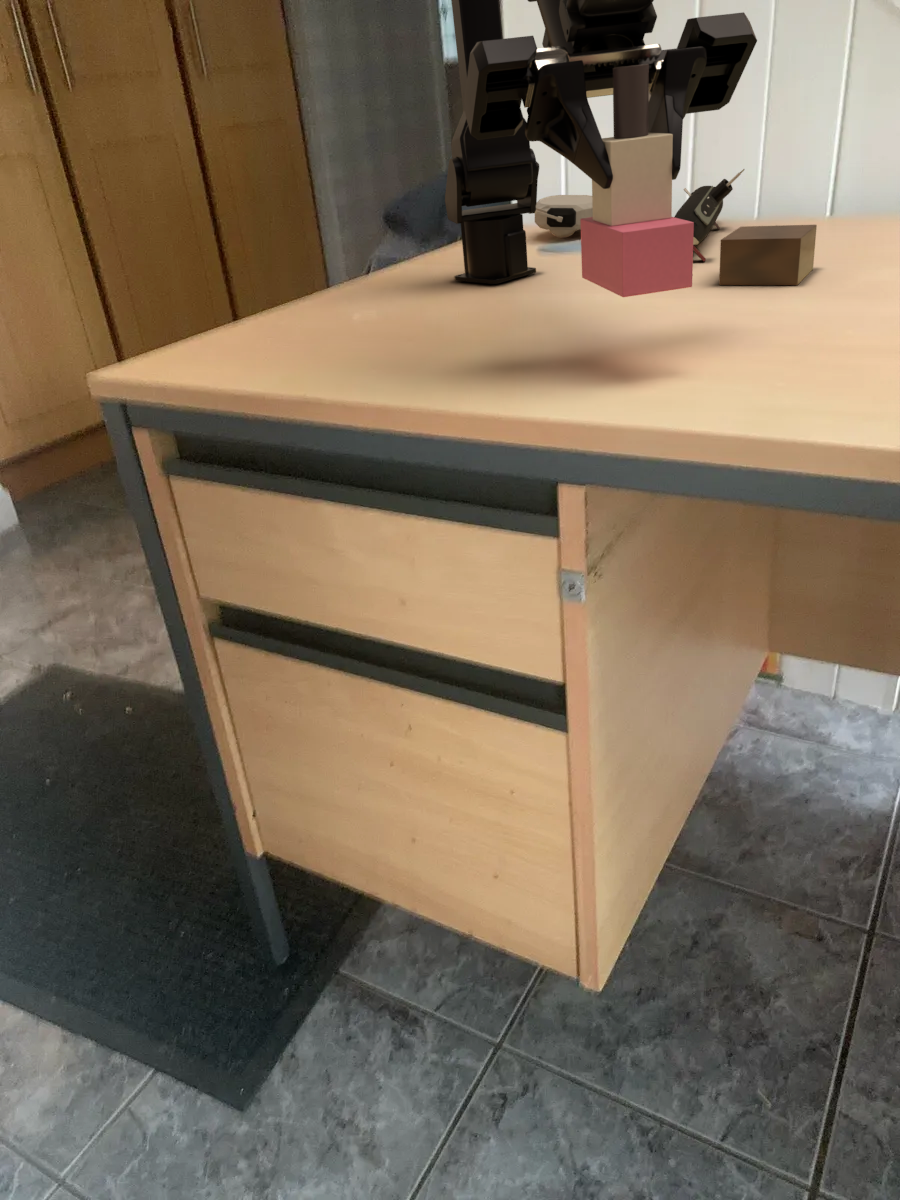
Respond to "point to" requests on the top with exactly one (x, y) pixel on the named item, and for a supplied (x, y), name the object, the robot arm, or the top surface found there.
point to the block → (767, 255)
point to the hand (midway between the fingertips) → (641, 179)
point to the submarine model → (704, 209)
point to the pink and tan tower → (636, 203)
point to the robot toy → (563, 213)
